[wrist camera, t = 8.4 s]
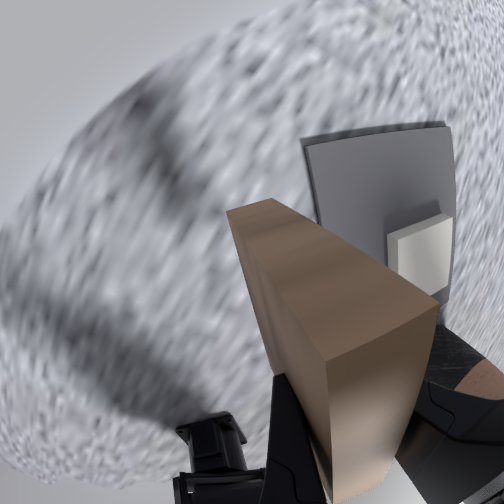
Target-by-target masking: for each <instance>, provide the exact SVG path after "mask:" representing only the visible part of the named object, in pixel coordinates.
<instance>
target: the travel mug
mask: <svg viewBox="0 0 504 504" xmlns="http://www.w3.org/2000/svg"><path fill="white" fill-rule="evenodd" d="M423 379H425V380H427V381H430V382H432V383H435V384H437V385H440V386H443V387H446V388H448V389H451V390H455V391H458V392H462V393H466V394H470V395H474V396H478V397H482V398H487V399H494V400H497V399H504V374H503V373H502V372H501V371H500V370H499V369H498V368H497V367H496V366H494V365H493V364H492V363H491V362H490V361H489V360H488V359H486V358H485V357H484V356H483V355H482V354H480V353H479V352H478V351H476V350H475V349H474V348H473V347H471V346H470V345H469V344H467V343H466V342H465V341H463V340H462V339H461V338H460V337H458V336H457V335H456V334H454V333H453V332H452V331H450V330H449V329H447V328H446V327H445V326H443V325H437V326H436V328H435V333H434V338H433V343H432V347H431V351H430V356H429V360H428V363H427V367H426V371H425V375H424V378H423Z"/></svg>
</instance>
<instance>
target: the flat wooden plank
mask: <svg viewBox="0 0 504 504" xmlns="http://www.w3.org/2000/svg"><path fill="white" fill-rule="evenodd" d="M226 213H227V217H228V220H229V224H230V228H231V231H232V235H233V238H234V242H235V246H236V249H237V253H238V256H239V260H240V263H241V267H242V270H243V274H244V277H245V281H246V284H247V288H248V291H249V295H250V298H251V302H252V305H253V309H254V312H255V315H256V319H257V322H258V326H259V329H260V332H261V336H262V339H263V343H264V346H265V349H266V353H267V356H268V359H269V363H270V366H271V368H272V371H273V373H274V376H275V375H277V374H280V373H285V375H286V377H287V379H288V381H289V382H290V384H291V386H292V388H293V390H294V392H295V394H296V396H297V398H298V400H299V403H300V406H301V410H302V414H303V417H304V421H305V424H306V428H307V431H308V435H309V438H310V442H311V446H312V449H313V453H314V456H315V460H316V463H317V467H318V471H319V474H320V478H321V481H322V484H323V486H324V488H325V490H326V492H327V494H328V496H329V499H330V501H331V503H332V504H340V503H342V502H344V501H347V500H349V499H351V498H353V497H355V496H358V495H360V494H362V493H364V492H366V491H368V490H370V489H372V488H374V487H376V486H378V485H379V484H381V482H382V481H383V479H384V477H385V475H386V473H387V471H388V469H389V467H390V465H391V463H392V461H393V459H394V456H395V454H396V452H397V450H398V448H399V445H400V443H401V441H402V438H403V436H404V433H405V431H406V428H407V426H408V423H409V420H410V418H411V415H412V412H413V409H414V407H415V404H416V401H417V398H418V395H419V391H420V388H421V385H422V382H423V378H424V375H425V371H426V367H427V363H428V360H429V356H430V351H431V347H432V343H433V338H434V333H435V328H436V323H437V317H438V311H439V305H440V302H438V301H437V300H435V299H434V298H432V297H431V296H430V295H428V294H427V293H425V292H424V291H422V290H421V289H419V288H418V287H417V286H415V285H414V284H412V283H411V282H409V281H408V280H406V279H405V278H403V277H402V276H400V275H399V274H397V273H396V272H394V271H393V270H391V269H390V268H388V267H386V266H385V265H383V264H382V263H380V262H379V261H377V260H376V259H374V258H372V257H371V256H369V255H368V254H366V253H365V252H363V251H361V250H360V249H358V248H356V247H355V246H353V245H352V244H350V243H348V242H347V241H345V240H343V239H342V238H340V237H339V236H337V235H335V234H334V233H332V232H330V231H329V230H327V229H325V228H323V227H322V226H320V225H318V224H317V223H315V222H313V221H312V220H310V219H308V218H306V217H305V216H303V215H301V214H299V213H298V212H296V211H294V210H292V209H291V208H289V207H287V206H285V205H283V204H282V203H280V202H278V201H276V200H274V199H273V198H270V199H267V200H263V201H260V202H256V203H253V204H249V205H246V206H242V207H239V208H235V209H232V210H229V211H226Z"/></svg>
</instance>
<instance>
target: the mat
mask: <svg viewBox="0 0 504 504" xmlns="http://www.w3.org/2000/svg"><path fill="white" fill-rule="evenodd" d="M304 148H305V152H306V157H307V162H308V167H309V172H310V176H311V182H312V187H313V192H314V197H315V203H316V208H317V214H318V220H319V225H320V226H322V227H323V228H325V229H327V230H329V231H330V232H332V233H334V234H335V235H337V236H339V237H340V238H342V239H343V240H345V241H347V242H348V243H350V244H352V245H353V246H355V247H356V248H358V249H360V250H361V251H363V252H365V253H366V254H368V255H369V256H371V257H372V258H374V259H376V260H377V261H379V262H380V263H382V264H383V265H385V266H386V267H388V247H387V234H389V233H392V232H395V231H397V230H400V229H403V228H405V227H408V226H410V225H413V224H416V223H418V222H421V221H423V220H426V219H429V218H431V217H434V216H436V215H439V214H441V213H442V214H445V215H448V216H451V217H453V225H452V247H451V260H450V270H449V279H448V285H447V286H446V287H444V288H442V289H441V290H439V291H437V292H436V293H434V294H432V295H430V296H431V297H432V298H434V299H435V300H437V301H438V302H440V305H439V307H440V306H442V305H443V304H445V303H446V302H448V300H449V293H450V286H451V279H452V270H453V260H454V248H455V231H456V182H455V165H454V153H453V144H452V135H451V128H450V127H447V126H446V127H432V128H421V129H411V130H402V131H393V132H385V133H378V134H371V135H364V136H358V137H351V138H345V139H340V140H334V141H329V142H323V143H318V144H313V145H308V146H304Z"/></svg>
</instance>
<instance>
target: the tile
mask: <svg viewBox="0 0 504 504" xmlns="http://www.w3.org/2000/svg"><path fill="white" fill-rule="evenodd" d="M452 225H453V217H451V216H448V215H445V214H442V213H441V214H439V215H436V216H434V217H431V218H429V219H426V220H423V221H421V222H418V223H416V224H413V225H410V226H408V227H405V228H403V229H400V230H397V231H395V232H392V233H389V234H387V247H388V268H390V269H391V270H393V271H394V272H396V273H397V274H399V275H400V276H402V277H403V278H405V279H406V280H408V281H409V282H411V283H412V284H414V285H415V286H417V287H418V288H419V289H421V290H422V291H424V292H425V293H427V294H428V295H432V294H434V293H436V292H437V291H439V290H441V289H442V288H444V287H446V286H447V285H448V279H449V270H450V260H451V247H452Z"/></svg>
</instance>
